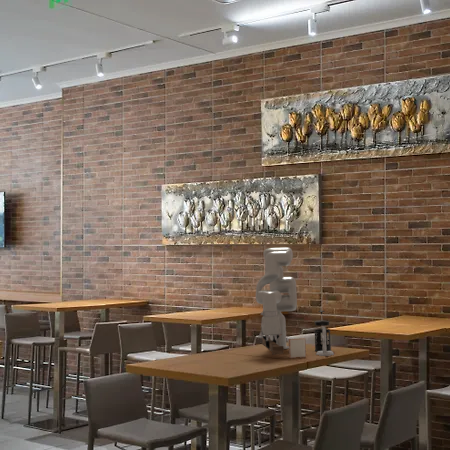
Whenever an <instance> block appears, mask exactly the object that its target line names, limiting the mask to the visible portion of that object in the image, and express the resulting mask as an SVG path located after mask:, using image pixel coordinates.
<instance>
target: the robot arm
mask: <svg viewBox="0 0 450 450" xmlns="http://www.w3.org/2000/svg"><path fill="white" fill-rule="evenodd" d="M293 257H294V253H293V250H292V248H291V247H270V248H269V247H268V248H266V249H264V250H263V258H264V260H265V263H264V275H262V277H261V278H260V279H259V281H257V283H256V286H255V287H256V288H255V300H256V302H257V304H260V305H262V312H260V316H262V317H261V323H260V324H261V325H260V332H259V335H258V337H260V338H264V339H265V340H266V347H267V348H266V347H265V348H266V349H268V348H269V340H268V338H269V339H271V340H272V341H273V342H275V343H276V344H278V345H279V346H283V350H287V349H288V350H289V345H287V326H286V325H287V323H286V317H285V315H283V313H282V312H294V311H296V310H297V308H298V297H297V281H296V279H295V277H293V276H284V268H283V267H287V266H290V265H291V263H292V260H293ZM268 284H269V289H267V290H266V289H263V288H264V287H265V286H266V285H268ZM286 293H287V294H286Z"/></svg>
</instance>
